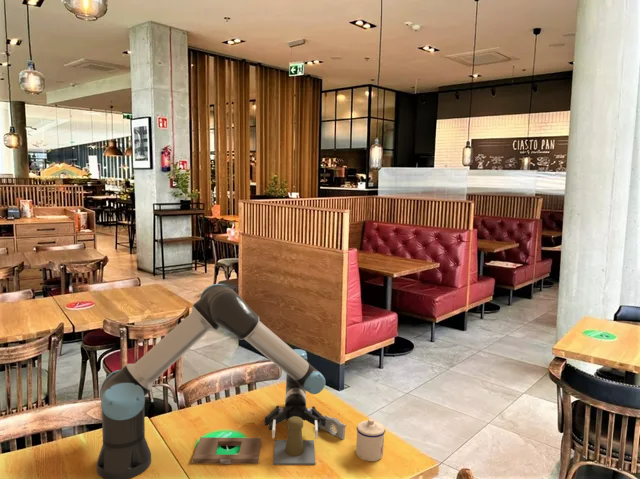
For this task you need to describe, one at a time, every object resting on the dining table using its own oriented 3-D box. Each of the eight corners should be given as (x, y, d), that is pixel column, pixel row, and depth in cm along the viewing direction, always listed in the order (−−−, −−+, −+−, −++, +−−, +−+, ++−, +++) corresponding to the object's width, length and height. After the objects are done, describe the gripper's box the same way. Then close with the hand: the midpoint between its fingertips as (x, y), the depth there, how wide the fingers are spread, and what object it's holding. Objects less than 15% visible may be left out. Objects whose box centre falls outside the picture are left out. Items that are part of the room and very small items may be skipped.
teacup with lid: (387, 461, 151) (389, 426, 149) (359, 463, 149) (361, 428, 148) (376, 440, 162) (377, 408, 161) (350, 442, 161) (351, 409, 159)
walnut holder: (192, 464, 145) (192, 459, 145) (200, 441, 158) (200, 437, 158) (258, 464, 146) (258, 459, 146) (261, 442, 159) (261, 437, 159)
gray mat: (272, 464, 147) (273, 462, 147) (274, 441, 160) (275, 439, 160) (315, 464, 147) (315, 463, 147) (313, 441, 160) (313, 440, 160)
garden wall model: (317, 427, 170) (317, 411, 169) (320, 425, 171) (321, 409, 171) (342, 440, 162) (343, 423, 161) (346, 438, 163) (346, 422, 162)
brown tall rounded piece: (301, 457, 150) (302, 424, 149) (282, 454, 151) (283, 421, 150) (305, 447, 156) (306, 415, 154) (287, 444, 157) (288, 412, 156)
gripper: (329, 413, 173) (334, 445, 152) (260, 412, 172) (255, 445, 151) (330, 393, 172) (334, 423, 151) (260, 392, 171) (255, 422, 150)
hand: (295, 434), depth 151 cm, fingers open, 13 cm apart
